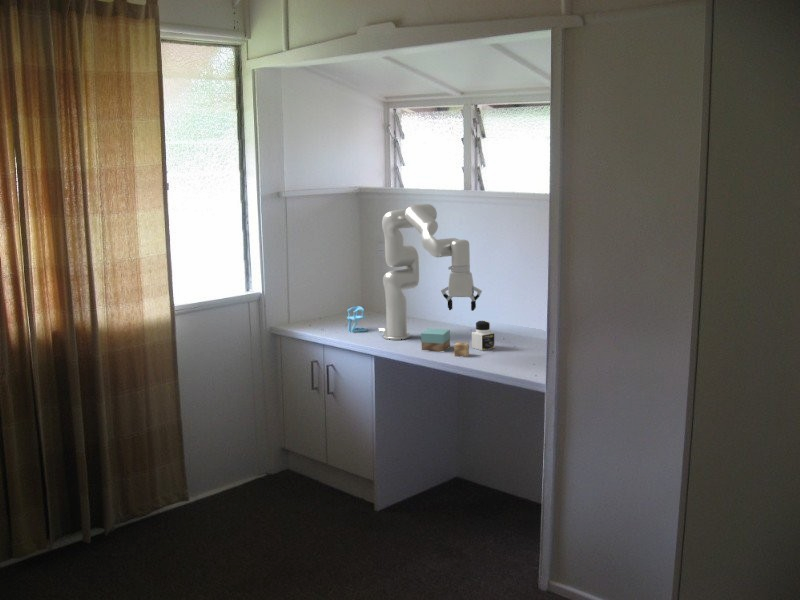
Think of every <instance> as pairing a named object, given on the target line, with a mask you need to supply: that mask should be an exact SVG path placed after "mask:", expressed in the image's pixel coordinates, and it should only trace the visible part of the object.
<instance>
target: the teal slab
mask: <svg viewBox="0 0 800 600" xmlns="http://www.w3.org/2000/svg"><path fill="white" fill-rule="evenodd" d="M420 336H421V337H420V338H421V340H420V341H421V343H422V342H423V343H441V344H444V343H445V342H446V341H447V340H449V339H450V340H451V331H450V329H444V328H443V329H442V328H426V330H424V331H423V332H421V334H420Z"/></svg>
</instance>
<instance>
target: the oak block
mask: <svg viewBox="0 0 800 600" xmlns="http://www.w3.org/2000/svg"><path fill="white" fill-rule="evenodd" d="M453 346H454V351H453V353H454V357H460V356H463V357H462V358H467V357H468V355H470V351H469V350H470V343H469V342H462V341H461V342H459V341H457V342H456V343H455V344H454V345H453Z"/></svg>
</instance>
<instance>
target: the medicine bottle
mask: <svg viewBox="0 0 800 600" xmlns="http://www.w3.org/2000/svg"><path fill="white" fill-rule="evenodd" d="M490 330H491V323H490V321H488V320H478V321H477V322H475V331H472V332H471V348H472V349H474V348H475V350H479V351H482V350H484V351H487V349H488V350H492V348H493V349H495V332H493V331H490Z"/></svg>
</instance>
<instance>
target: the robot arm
mask: <svg viewBox="0 0 800 600" xmlns="http://www.w3.org/2000/svg"><path fill="white" fill-rule="evenodd" d="M437 217H438V214H437V210H436V207H435V206H434V205H432V204H431V203H422V204H421V203H420V204H413V205H410V206H408V207H407V208H404V209H396V210H395V209H394V210H390V211H388V212H385V214H384V215H383V216H382V220H381V227H382V231H383V236H384V251H385V253H384V255H385V263H386V265H387V266H388V267H389V268H401V267H402V268H403V267H404V268H403V269H402V268H401V269H394V270H389V271H386V273H385V274H384V275H383V277H382V284H383V288H384V295H385V318H386V320H385V321H386V327H379V328H378V332H379V333H384V334H383V338H384V339H385V340H389V339H390V341H391V340H392V341H400V340H401V339H402V340H407V339H409V338H411V333H409V332H408V324H407V323H408V320H407V319H408V317H407V316H408V315H407V314H408V313H407V299H406V296H405V295H404V293H403V291H404V290H411V289H415V288H416V287H417V286H418V285H419V282H420V261H419V259H420V258H419V257H420V256H419V252H418V250H417V249H416V247H414V246H413V245H411V244H410V245H408V244H407V245H404V236H403V233H402V231H400V229H411V228H414V229H415V230H416V231H418V233H419V234H420V239H421V243H422V244H421V245H422V247H423V248H424V249H425V251H426V252H428V253H429V254H430V255H431V256H433V257H434V258H444V257H445V258H446V257H451V265H449V266H448V271H451V272H450V273H449V275H448V276H449V277H448V286H447V287H444V288H442V289H441V291H440V292H441V294H442V296H443V297H444V298H445V300H446V301H447V308H448V310H449V311H451V310H453V298H470V300H471V301H470V304H471V305H470V310H471V311H474V310H475V309H476V308H477V306H476V305H477V302H476V301H477V300H478V298H479V297H480V296H481V294H482V291H483V290H482V289H480V288H477V287H476V286H475V285H474V280H473V279H474V278H473V274H472V272H471V265H470V264H471V262H470V261H471V259H470V255H471V254H470V242H469V240H468V239H467V240H466V239H459V238H456V237H450V238H448V237H447V238H439V239H437V238H435V236H434V235H435V234H436V233H437V231H438V228H439V224H438V222H437V221H436V219H437ZM447 292H448V293H447ZM474 292H476V293H477V294H476V295H474V294H475V293H474ZM402 340H401V341H402Z"/></svg>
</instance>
